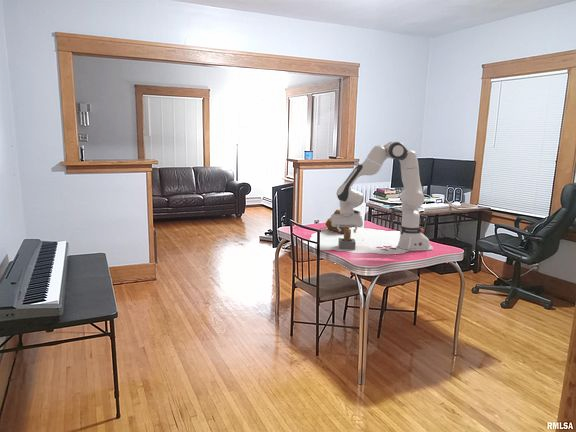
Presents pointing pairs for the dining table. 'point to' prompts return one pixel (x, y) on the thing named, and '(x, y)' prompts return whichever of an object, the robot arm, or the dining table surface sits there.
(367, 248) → the cream base board
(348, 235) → the walnut slat
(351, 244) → the charcoal end cap
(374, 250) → the dining table surface
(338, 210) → the rough brown rock
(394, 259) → the dining table surface
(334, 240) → the dining table surface
